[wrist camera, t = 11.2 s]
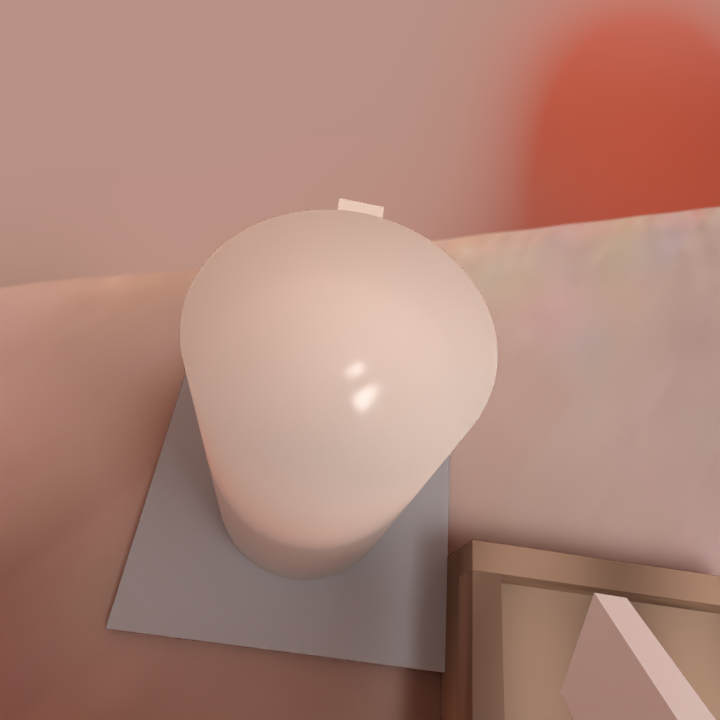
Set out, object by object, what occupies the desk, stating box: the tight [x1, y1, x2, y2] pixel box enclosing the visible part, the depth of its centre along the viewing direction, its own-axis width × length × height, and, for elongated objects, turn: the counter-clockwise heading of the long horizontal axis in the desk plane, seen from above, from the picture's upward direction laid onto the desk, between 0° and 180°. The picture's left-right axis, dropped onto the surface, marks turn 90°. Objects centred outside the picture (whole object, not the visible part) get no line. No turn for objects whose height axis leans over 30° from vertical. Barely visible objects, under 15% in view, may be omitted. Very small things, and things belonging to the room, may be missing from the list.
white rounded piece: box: [179, 198, 498, 580], centre depth 18 cm, size 7×10×12 cm
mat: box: [106, 374, 450, 672], centre depth 23 cm, size 12×12×1 cm
